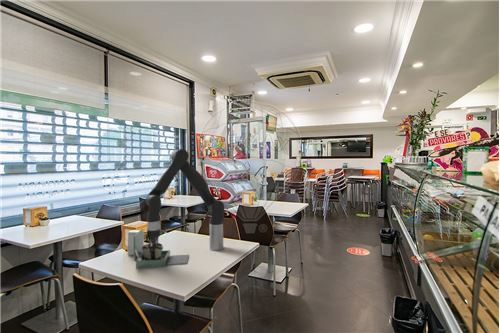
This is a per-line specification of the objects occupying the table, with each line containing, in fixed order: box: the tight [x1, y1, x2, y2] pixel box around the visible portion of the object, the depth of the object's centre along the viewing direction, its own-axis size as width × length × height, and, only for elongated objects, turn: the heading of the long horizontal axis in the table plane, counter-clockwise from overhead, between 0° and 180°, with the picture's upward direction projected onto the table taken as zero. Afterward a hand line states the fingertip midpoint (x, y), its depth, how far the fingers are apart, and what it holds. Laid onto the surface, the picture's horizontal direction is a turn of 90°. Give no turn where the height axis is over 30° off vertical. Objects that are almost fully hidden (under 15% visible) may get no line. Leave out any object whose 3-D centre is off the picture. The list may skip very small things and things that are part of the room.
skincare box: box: [127, 229, 145, 256], centre depth 170 cm, size 8×6×15 cm
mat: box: [166, 254, 190, 266], centre depth 158 cm, size 11×14×1 cm
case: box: [133, 228, 171, 269], centre depth 155 cm, size 17×16×18 cm
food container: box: [142, 242, 164, 260], centre depth 156 cm, size 12×6×10 cm, turn 86°
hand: (154, 256), depth 155 cm, fingers closed on food container, 5 cm apart
